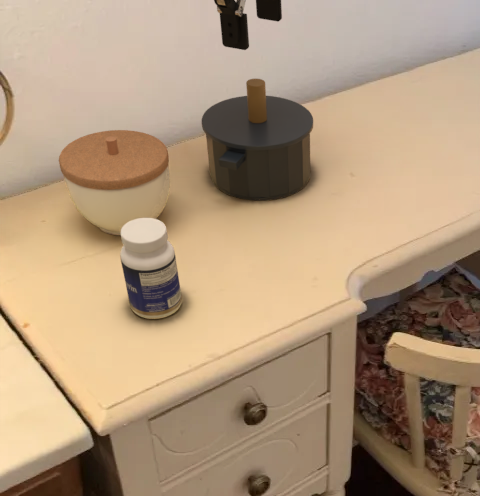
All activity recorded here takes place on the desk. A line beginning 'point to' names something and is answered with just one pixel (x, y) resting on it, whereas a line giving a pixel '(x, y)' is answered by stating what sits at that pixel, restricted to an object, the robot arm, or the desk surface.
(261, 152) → the pan
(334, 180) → the desk surface
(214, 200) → the desk surface
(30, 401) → the desk surface
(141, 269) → the pill bottle
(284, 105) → the pan lid
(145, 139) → the lidded bowl
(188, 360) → the desk surface
